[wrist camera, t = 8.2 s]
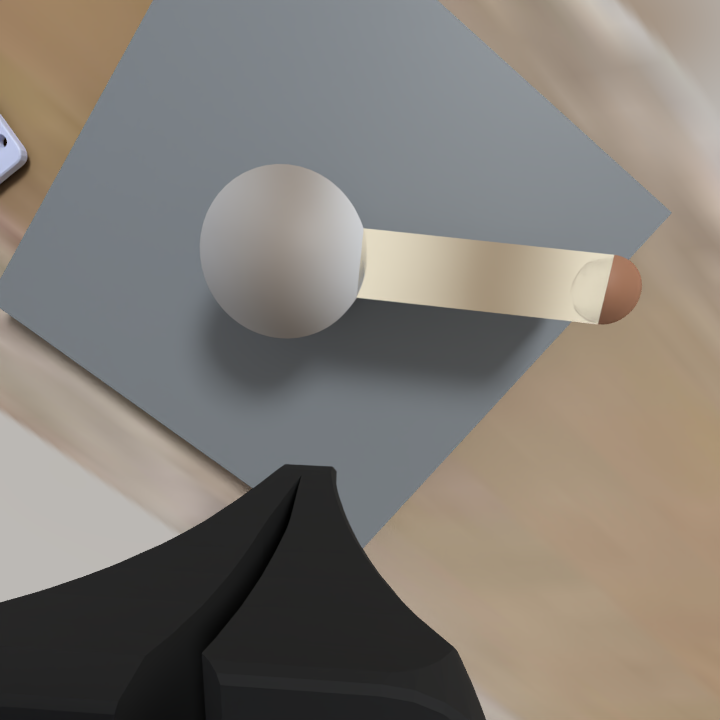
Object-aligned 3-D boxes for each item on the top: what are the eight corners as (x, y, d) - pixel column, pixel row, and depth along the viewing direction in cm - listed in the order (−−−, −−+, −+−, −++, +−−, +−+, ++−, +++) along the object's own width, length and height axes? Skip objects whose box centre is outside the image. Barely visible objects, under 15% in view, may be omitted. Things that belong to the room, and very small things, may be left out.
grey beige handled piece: (243, 313, 17) (198, 328, 13) (249, 186, 16) (201, 155, 12) (557, 348, 17) (619, 376, 12) (585, 221, 16) (663, 203, 11)
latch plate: (18, 297, 19) (-12, 300, 18) (260, -129, 15) (247, -172, 14) (354, 539, 21) (352, 559, 20) (646, 217, 17) (671, 212, 16)
